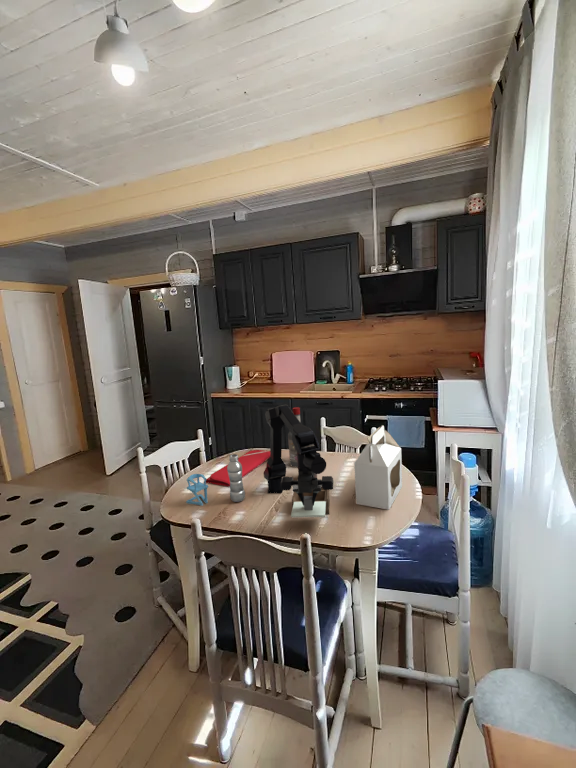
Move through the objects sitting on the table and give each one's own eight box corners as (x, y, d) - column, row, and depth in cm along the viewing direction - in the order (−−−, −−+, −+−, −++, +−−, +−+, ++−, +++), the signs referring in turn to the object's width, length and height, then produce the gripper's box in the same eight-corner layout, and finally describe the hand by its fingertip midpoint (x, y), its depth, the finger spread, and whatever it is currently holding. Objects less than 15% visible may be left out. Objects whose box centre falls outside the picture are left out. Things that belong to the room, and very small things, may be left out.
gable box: (372, 481, 170) (370, 421, 165) (402, 486, 164) (400, 423, 159) (355, 504, 151) (352, 436, 146) (388, 510, 145) (386, 440, 140)
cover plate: (291, 517, 134) (290, 504, 133) (294, 503, 144) (293, 491, 143) (325, 517, 132) (324, 504, 132) (325, 503, 142) (325, 491, 142)
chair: (197, 508, 158) (194, 481, 156) (185, 502, 163) (182, 476, 161) (212, 500, 163) (209, 474, 161) (200, 495, 169) (197, 470, 167)
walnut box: (292, 514, 147) (291, 499, 146) (295, 500, 157) (294, 486, 156) (329, 514, 145) (328, 499, 144) (329, 500, 156) (328, 486, 155)
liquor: (301, 468, 190) (297, 411, 185) (287, 465, 196) (283, 409, 191) (312, 462, 197) (308, 406, 192) (298, 459, 203) (294, 405, 198)
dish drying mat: (204, 483, 183) (203, 476, 182) (251, 454, 218) (250, 448, 218) (230, 488, 176) (229, 480, 175) (274, 457, 211) (274, 450, 210)
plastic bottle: (233, 505, 157) (228, 459, 154) (228, 499, 163) (223, 455, 160) (248, 501, 160) (243, 456, 157) (242, 495, 166) (238, 451, 163)
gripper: (276, 474, 129) (280, 516, 131) (331, 473, 126) (334, 516, 129) (281, 461, 140) (284, 501, 142) (332, 460, 137) (334, 500, 140)
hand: (308, 505), depth 138 cm, fingers closed on cover plate, 3 cm apart
